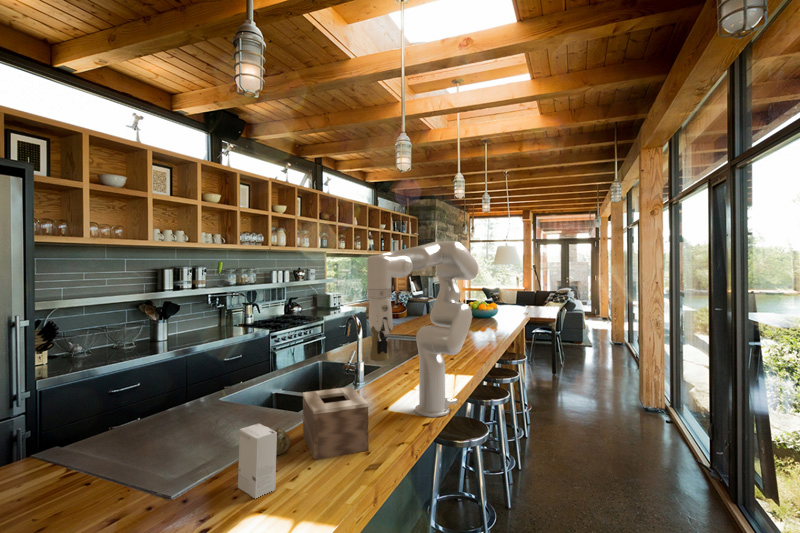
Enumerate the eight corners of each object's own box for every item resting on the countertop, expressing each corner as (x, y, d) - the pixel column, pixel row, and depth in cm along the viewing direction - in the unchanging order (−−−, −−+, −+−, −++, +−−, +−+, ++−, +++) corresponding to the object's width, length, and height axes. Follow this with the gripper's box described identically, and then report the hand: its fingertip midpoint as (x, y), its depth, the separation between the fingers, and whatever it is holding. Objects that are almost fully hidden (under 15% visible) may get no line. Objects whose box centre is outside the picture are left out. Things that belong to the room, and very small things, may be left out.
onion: (296, 448, 131) (296, 422, 130) (280, 460, 123) (280, 432, 123) (274, 445, 133) (274, 419, 133) (258, 456, 125) (257, 429, 125)
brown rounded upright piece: (386, 361, 135) (386, 325, 135) (367, 360, 136) (367, 325, 136) (391, 357, 141) (390, 322, 141) (372, 356, 142) (372, 322, 142)
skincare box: (237, 488, 108) (236, 428, 108) (259, 479, 113) (258, 421, 112) (256, 500, 103) (255, 437, 102) (278, 490, 107) (277, 430, 107)
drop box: (351, 428, 146) (351, 386, 146) (368, 450, 129) (368, 403, 129) (303, 436, 140) (302, 392, 139) (314, 460, 123) (313, 410, 123)
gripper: (400, 296, 132) (400, 356, 132) (381, 292, 147) (381, 346, 148) (377, 297, 129) (377, 358, 129) (359, 292, 144) (360, 348, 145)
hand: (379, 351), depth 139 cm, fingers closed on brown rounded upright piece, 4 cm apart
